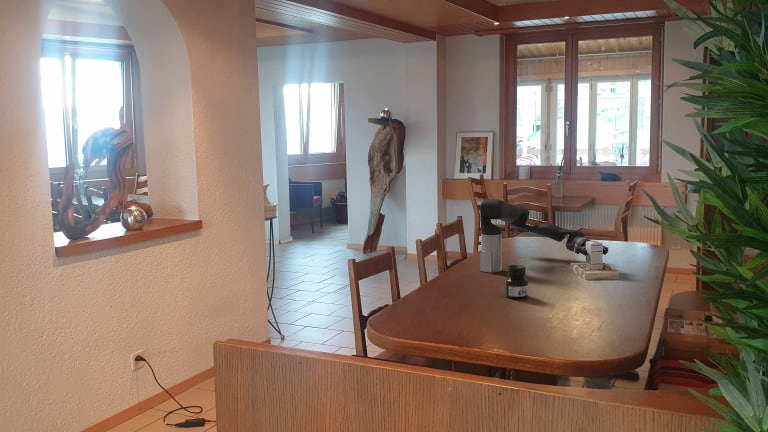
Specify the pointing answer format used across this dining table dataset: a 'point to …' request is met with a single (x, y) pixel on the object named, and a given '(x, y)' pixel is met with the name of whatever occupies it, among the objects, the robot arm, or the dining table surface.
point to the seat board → (595, 272)
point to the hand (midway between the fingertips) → (595, 252)
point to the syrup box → (594, 255)
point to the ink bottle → (516, 282)
